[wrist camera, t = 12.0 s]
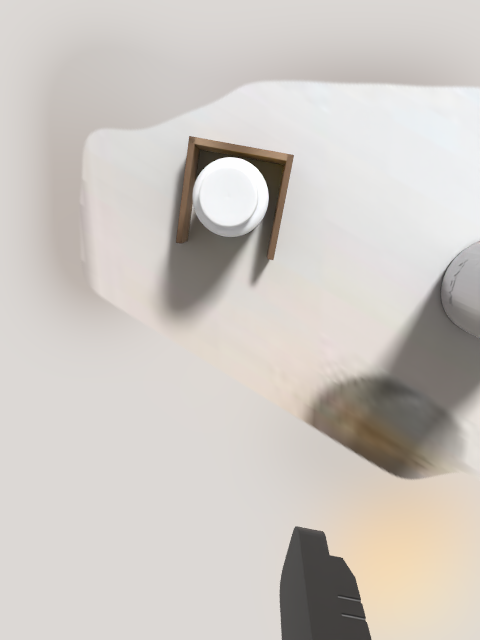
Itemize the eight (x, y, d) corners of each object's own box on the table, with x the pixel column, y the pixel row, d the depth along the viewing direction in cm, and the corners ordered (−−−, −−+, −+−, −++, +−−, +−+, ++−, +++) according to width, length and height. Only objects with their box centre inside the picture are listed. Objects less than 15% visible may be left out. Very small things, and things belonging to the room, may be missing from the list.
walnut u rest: (290, 159, 35) (293, 155, 32) (272, 256, 37) (273, 259, 34) (195, 142, 35) (189, 136, 32) (182, 240, 37) (175, 242, 34)
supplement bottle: (268, 229, 36) (272, 235, 26) (209, 235, 37) (191, 243, 27) (264, 165, 35) (266, 147, 25) (202, 172, 35) (180, 156, 25)
